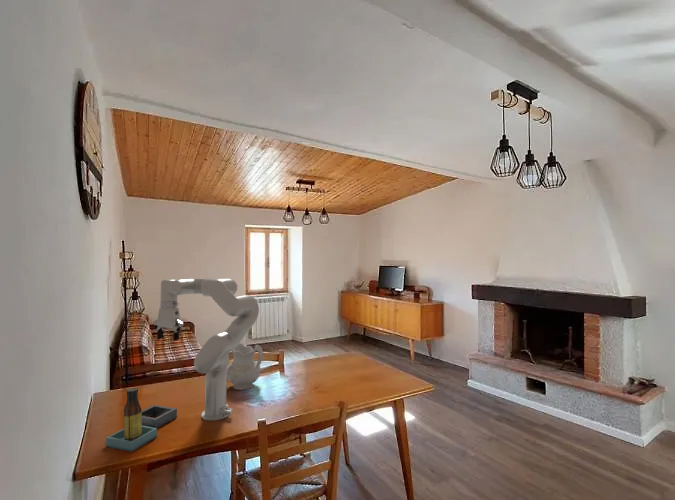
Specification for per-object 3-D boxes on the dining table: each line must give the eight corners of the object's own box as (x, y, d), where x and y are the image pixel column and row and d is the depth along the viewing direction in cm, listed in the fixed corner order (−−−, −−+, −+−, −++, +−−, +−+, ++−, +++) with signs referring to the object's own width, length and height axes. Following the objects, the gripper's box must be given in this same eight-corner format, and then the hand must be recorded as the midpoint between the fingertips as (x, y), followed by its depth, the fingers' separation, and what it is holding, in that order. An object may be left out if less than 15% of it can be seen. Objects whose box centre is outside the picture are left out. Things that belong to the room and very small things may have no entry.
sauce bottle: (144, 435, 153) (145, 386, 154) (137, 443, 147) (138, 392, 148) (128, 435, 153) (129, 386, 154) (120, 443, 147) (121, 392, 147)
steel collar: (176, 417, 173) (177, 408, 173) (155, 429, 161) (155, 419, 161) (154, 413, 177) (154, 404, 177) (131, 425, 165) (131, 415, 165)
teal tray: (156, 436, 154) (157, 428, 154) (131, 451, 142) (131, 442, 142) (132, 432, 158) (132, 423, 158) (106, 446, 146) (106, 437, 146)
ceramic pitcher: (268, 384, 223) (269, 341, 225) (258, 393, 204) (259, 346, 206) (233, 382, 225) (234, 340, 228) (219, 391, 206) (221, 345, 208)
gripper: (188, 304, 186) (187, 339, 186) (160, 302, 191) (159, 336, 191) (177, 306, 179) (177, 342, 179) (148, 304, 184) (148, 339, 184)
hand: (168, 339), depth 185 cm, fingers open, 9 cm apart
